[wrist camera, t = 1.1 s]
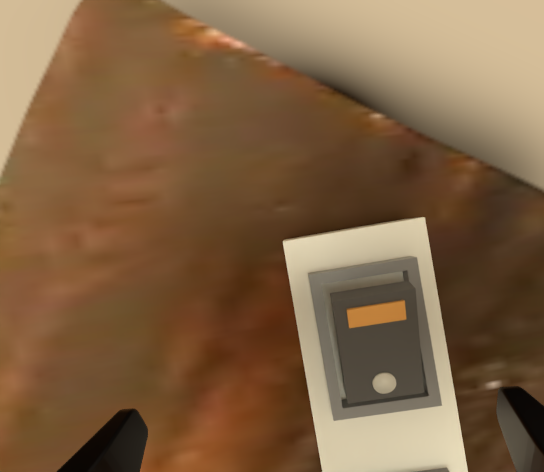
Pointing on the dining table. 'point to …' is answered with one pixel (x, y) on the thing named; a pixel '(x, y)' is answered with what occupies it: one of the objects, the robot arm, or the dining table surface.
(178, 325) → the dining table surface
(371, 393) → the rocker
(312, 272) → the switch box
